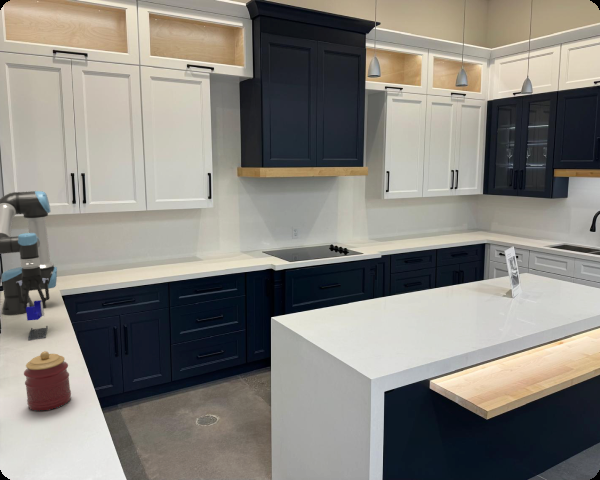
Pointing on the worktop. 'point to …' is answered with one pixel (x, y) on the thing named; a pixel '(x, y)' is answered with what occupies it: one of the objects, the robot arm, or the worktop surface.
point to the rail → (37, 333)
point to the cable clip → (34, 311)
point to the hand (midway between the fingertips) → (36, 316)
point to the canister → (47, 382)
